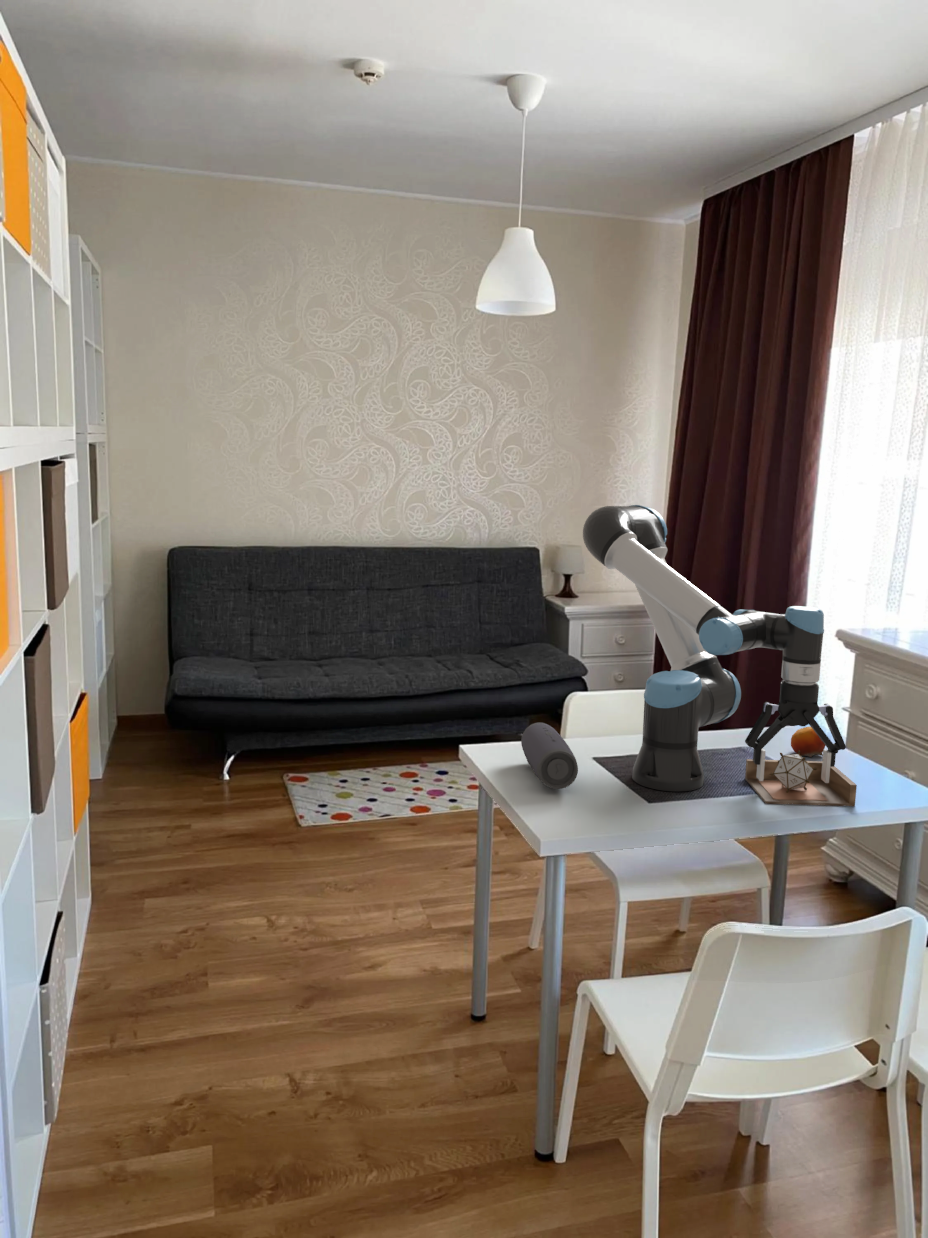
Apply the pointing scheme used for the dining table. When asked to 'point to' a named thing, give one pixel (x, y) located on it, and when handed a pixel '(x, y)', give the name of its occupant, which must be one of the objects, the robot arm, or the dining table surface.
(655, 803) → the dining table surface
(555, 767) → the bluetooth speaker
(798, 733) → the fruit
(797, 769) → the game die
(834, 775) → the brown wooden tray
